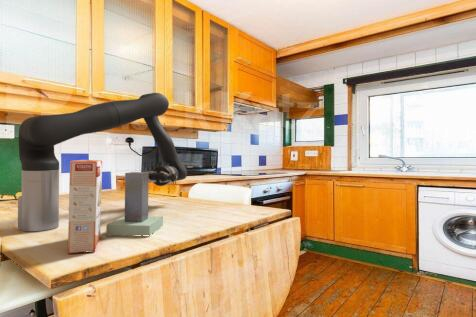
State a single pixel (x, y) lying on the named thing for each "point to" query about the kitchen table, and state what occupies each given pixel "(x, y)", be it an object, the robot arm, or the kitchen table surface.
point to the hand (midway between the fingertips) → (149, 178)
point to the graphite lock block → (136, 196)
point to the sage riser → (134, 226)
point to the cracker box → (84, 205)
